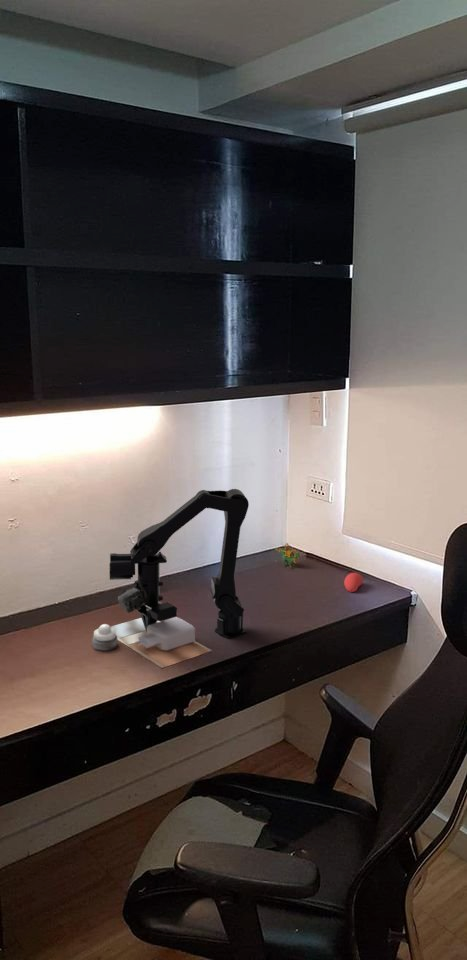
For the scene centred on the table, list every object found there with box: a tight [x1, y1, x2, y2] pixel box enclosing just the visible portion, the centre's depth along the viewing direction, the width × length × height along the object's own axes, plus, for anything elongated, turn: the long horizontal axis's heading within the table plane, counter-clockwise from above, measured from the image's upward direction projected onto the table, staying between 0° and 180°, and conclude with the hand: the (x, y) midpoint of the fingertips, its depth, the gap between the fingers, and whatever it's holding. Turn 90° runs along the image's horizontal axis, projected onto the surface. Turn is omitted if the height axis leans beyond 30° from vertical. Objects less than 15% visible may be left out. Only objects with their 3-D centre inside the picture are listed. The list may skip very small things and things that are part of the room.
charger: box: [135, 616, 196, 651], centre depth 196 cm, size 5×9×15 cm
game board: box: [92, 617, 213, 669], centre depth 197 cm, size 23×29×2 cm
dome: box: [93, 623, 116, 641], centre depth 195 cm, size 6×6×3 cm
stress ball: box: [343, 572, 364, 593], centre depth 238 cm, size 5×9×6 cm, turn 143°
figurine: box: [274, 543, 301, 570], centre depth 258 cm, size 3×12×8 cm, turn 42°
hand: (148, 632), depth 201 cm, fingers closed
